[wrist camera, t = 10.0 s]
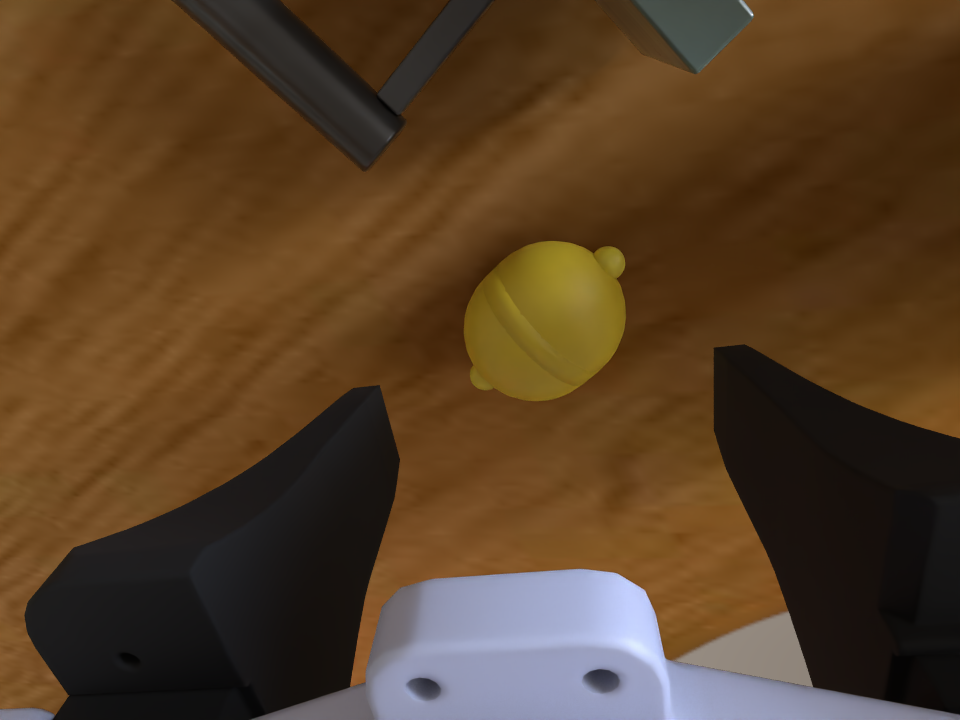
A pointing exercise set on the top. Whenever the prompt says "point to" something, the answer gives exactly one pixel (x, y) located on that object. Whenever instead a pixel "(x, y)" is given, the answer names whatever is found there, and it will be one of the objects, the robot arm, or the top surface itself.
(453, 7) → the drawer
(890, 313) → the top surface
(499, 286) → the lemon
